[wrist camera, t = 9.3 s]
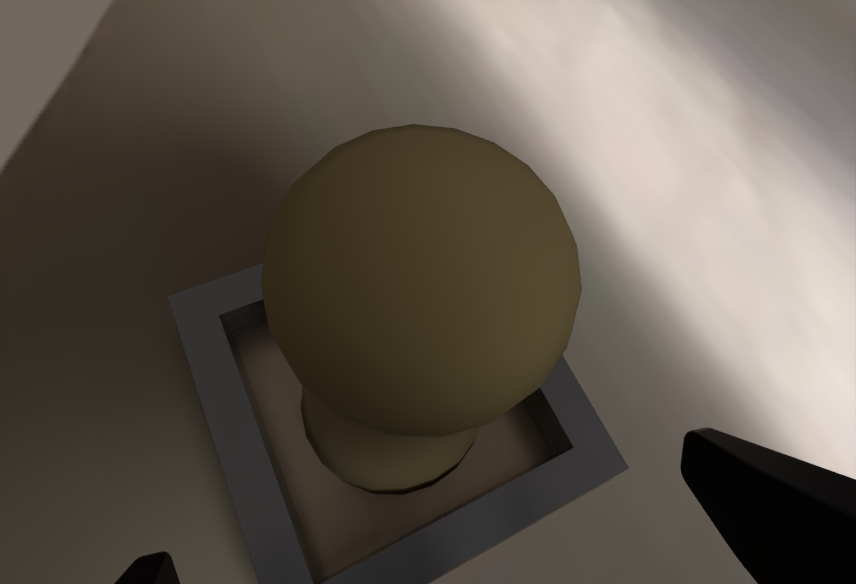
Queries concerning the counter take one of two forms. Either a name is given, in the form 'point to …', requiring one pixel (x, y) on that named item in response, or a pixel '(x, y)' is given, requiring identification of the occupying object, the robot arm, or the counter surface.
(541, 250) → the cork
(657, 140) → the counter surface
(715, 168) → the counter surface
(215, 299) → the socket block
